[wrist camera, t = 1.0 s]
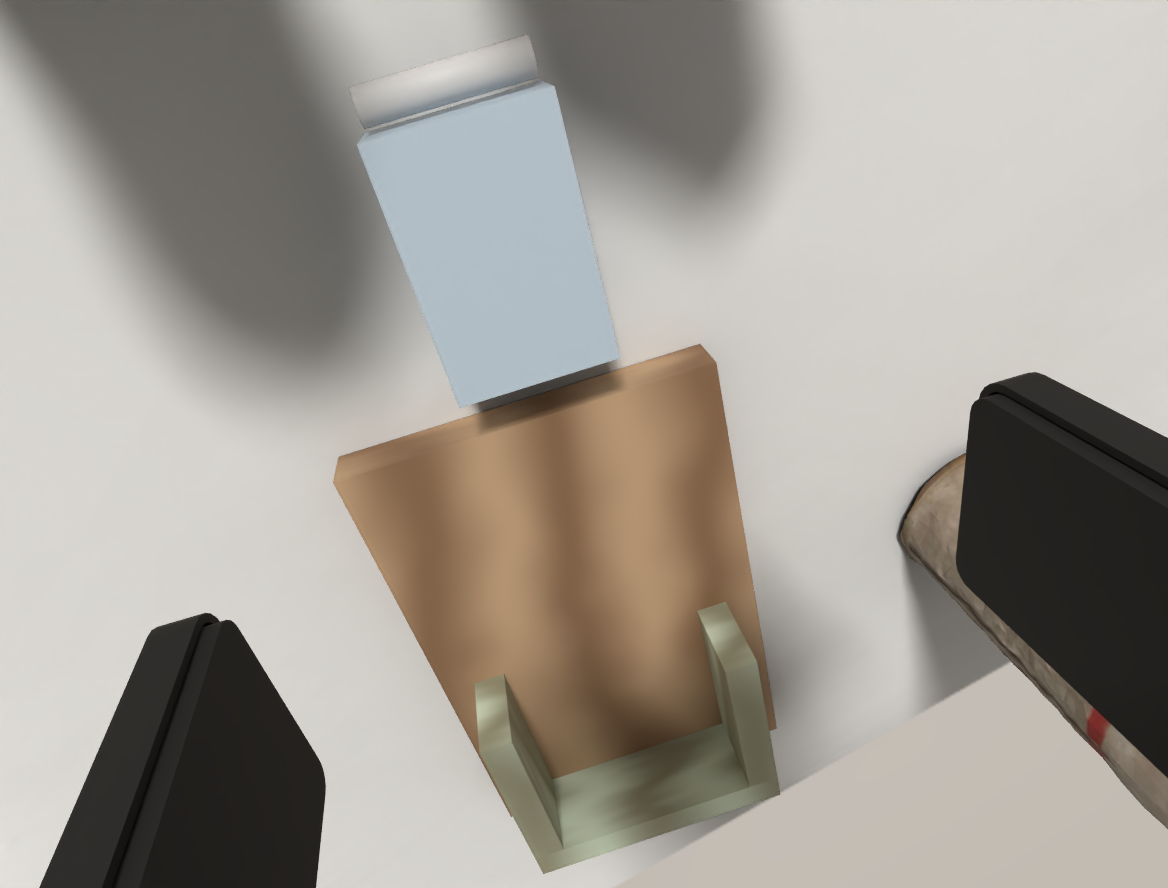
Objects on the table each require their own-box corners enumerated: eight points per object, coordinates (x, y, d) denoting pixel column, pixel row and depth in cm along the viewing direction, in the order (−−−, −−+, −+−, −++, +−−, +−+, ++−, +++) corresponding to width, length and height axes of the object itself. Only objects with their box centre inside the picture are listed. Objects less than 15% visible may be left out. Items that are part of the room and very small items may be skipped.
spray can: (1075, 469, 38) (1590, 817, 21) (972, 583, 41) (1354, 968, 24) (970, 414, 35) (1478, 770, 18) (868, 541, 38) (1222, 950, 21)
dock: (699, 343, 31) (754, 406, 26) (763, 700, 43) (807, 790, 38) (338, 457, 30) (319, 543, 25) (508, 785, 43) (518, 888, 37)
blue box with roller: (524, 32, 24) (541, 32, 20) (597, 318, 29) (620, 358, 26) (350, 84, 24) (336, 93, 20) (455, 362, 29) (459, 408, 25)
